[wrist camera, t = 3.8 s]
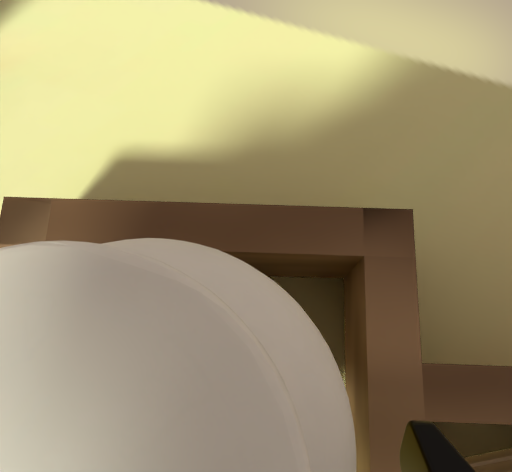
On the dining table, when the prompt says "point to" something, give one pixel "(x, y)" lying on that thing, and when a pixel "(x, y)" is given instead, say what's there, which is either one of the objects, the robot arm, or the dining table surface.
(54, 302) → the supplement bottle
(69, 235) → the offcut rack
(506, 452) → the offcut stack
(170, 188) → the dining table surface
